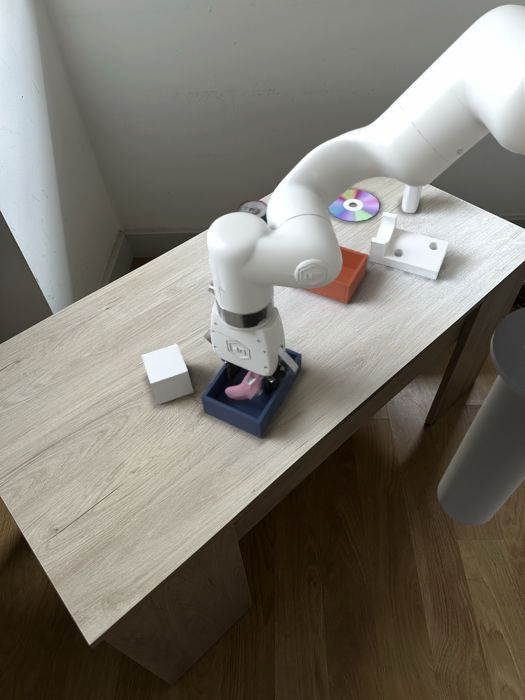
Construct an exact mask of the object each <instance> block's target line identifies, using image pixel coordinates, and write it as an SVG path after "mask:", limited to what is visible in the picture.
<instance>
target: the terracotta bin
mask: <svg viewBox="0 0 525 700" xmlns="http://www.w3.org/2000/svg"><path fill="white" fill-rule="evenodd" d="M339 247H340V250H341V254H342V269H341V271H340V273H339V275H338V276H337V278H336V279H335V280H334V281H332V282H331V283H329V284H327V285H325V286H322V287H318V288H310V289H303V288H301V289H302V290H305V291H308V292H310V293H311V292H312V293H314V294H317V295H319V296H323V297H325V298H328V299H330V300H334V301H336V302H340V303H343V304H346V305H348V304H349V302H350V300H351V299H352V297H353V295H354V293H355V292H356V290H357V289H358V287H359V285H360V284H361V282H362V280H363V278H364V277H365V275H366V273H367V266H368V262H369V254H368V253H363V252H360V251H357V250H354V249H351V248H347V247H344V246H341V245H339Z"/></svg>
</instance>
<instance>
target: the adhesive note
mask: <svg viewBox="0 0 525 700" xmlns="http://www.w3.org/2000/svg"><path fill="white" fill-rule="evenodd" d="M140 356H141V360H142V363H143V365H144V368H145V371H146V375H147V379H148V381H149V384H150V387H151V390H152V392H153V395H154V398H155V399H156V402H157V405H158V406H159V405H161V404H164V403H167V402H170V401H173V400H175V399H179V398H182V397H184V396H187V395H190V394H192V393H194V388H193V385H192V381H191V377H190V374H189V370H188V367H187V365H186V362H185V360H184V357H183V354H182V352H181V349H180V347H179V344H178V343H174V344H171V345H167V346H165V347H161V348H159V349H156V350H153V351H150V352H146V353H143V354H141V355H140Z"/></svg>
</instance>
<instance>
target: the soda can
mask: <svg viewBox="0 0 525 700" xmlns="http://www.w3.org/2000/svg"><path fill="white" fill-rule="evenodd" d="M267 205H268V203H266V202H265V201H263V200H260V199H247V200H244V201H241V203H239V204H238V206H237V207H236V212H246V213H251V214H254V215H257V216H259V217H260V218H261V219H263V220H264V221H265V222H266V223H267V216H266V212H267ZM267 225H268V223H267Z"/></svg>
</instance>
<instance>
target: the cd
mask: <svg viewBox="0 0 525 700" xmlns="http://www.w3.org/2000/svg"><path fill="white" fill-rule="evenodd" d="M353 203H354V204H356V206H354V207H352V206H351V204H353ZM379 210H380V202H379V201H378V199H377V198H376V197H375V196H374V195H373V194H371V193H370V192H368V191H364V190H361V189H351V188H349V189H348V190H347V191H346V192H344V193H343V194H342V195H341V196H340V197H339V198H338V199H337V200H336V201H335V202H334V203H333V204H332V205H331V206H330V207H329V208H328V212H330V213H331V215H333V216H334V217H336V218H338V219H340V220H343V221H347V222H362V221H367V220H369V219H372V218H373V217H375V216H376V214H377V213H378V212H379Z"/></svg>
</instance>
